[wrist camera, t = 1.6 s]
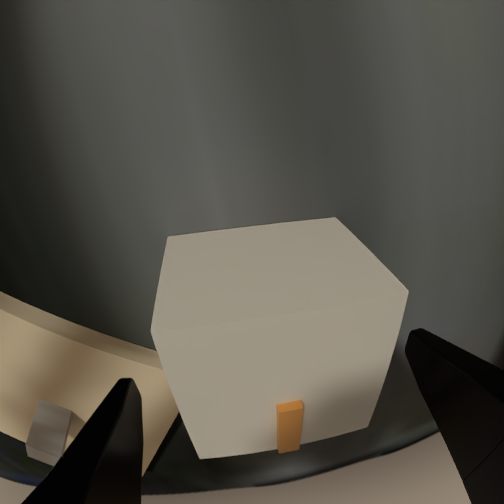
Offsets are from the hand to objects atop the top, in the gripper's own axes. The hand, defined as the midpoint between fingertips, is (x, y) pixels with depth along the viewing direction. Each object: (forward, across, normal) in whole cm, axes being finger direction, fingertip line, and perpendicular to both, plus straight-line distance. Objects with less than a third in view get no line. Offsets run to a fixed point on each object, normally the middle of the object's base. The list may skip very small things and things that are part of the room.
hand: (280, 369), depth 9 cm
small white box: (+4, 0, 0) cm, 4 cm away
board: (+4, +11, +5) cm, 13 cm away
